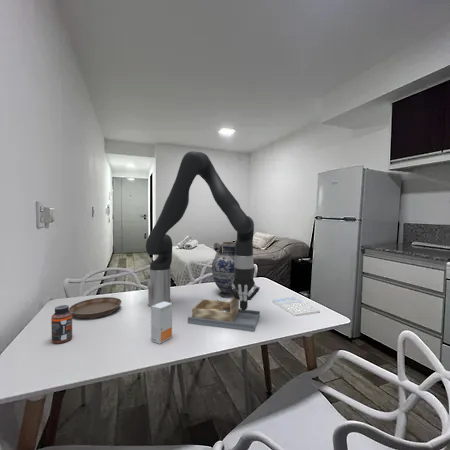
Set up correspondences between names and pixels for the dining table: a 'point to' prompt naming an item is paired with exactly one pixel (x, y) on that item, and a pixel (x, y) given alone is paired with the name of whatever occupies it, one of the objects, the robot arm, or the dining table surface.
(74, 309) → the plant saucer
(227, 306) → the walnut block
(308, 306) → the white flat textured slab
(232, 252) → the decorative vase
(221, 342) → the dining table surface
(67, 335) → the supplement bottle
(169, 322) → the skincare box
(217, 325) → the rail board
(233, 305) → the wooden drawer
